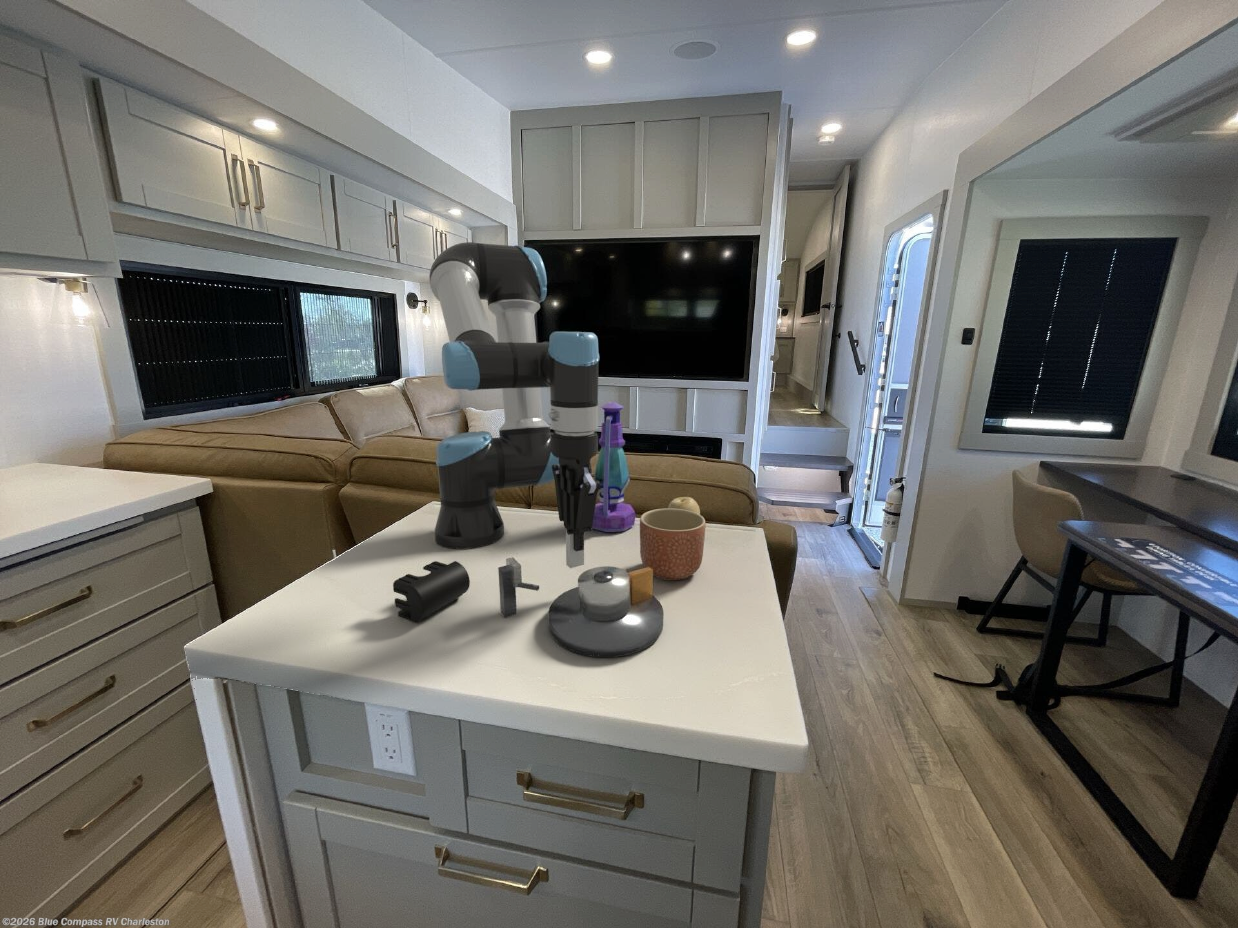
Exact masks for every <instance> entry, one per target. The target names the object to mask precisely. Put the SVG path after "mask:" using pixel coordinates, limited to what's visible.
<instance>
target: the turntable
mask: <svg viewBox="0 0 1238 928" xmlns="http://www.w3.org/2000/svg"><path fill="white" fill-rule="evenodd" d="M627 573H628V574H629V582H630V600H631V608H630V610H629V612H628V613H627V614H625V615H624V616H622V617H620V618H618V619H615V620H610V621H596V620H591V619H588V618H586V617H585V616H584V615H582V613H581V611H580V601H579V588H578V586H576V587H574V588H570V589H568V590H566V591H565V592H563V593H561V594H559V595H558V596H557V597H556V598H555V599H554V600H553V601H552V602H551V603H550V606H549V609H548V613H547V616H548V618H547V620H548V623H547V625H548V632H549V633H550V635H551V637H552V639H553V640H554V641H555V642H556V643H558V645H560V646H561V647H563V648H565V649H567V650H568V651H571V652H573V653H576V654H579V655H583V656H589V657H594V658H595V657H596V658H615V657H624V656H627V655H631V654H634V653H638V652H640V651H642V650H644V649H646V648H648V647H650V646H651V645H652V644H654V643H655V642H656V641H657V640H658V639H659V637H660V636H661V634H662V631H663V629H664V607H663V605H662V604H661V602H660V601H659V599H658V598H657V597H655V595H653V590H654V587H653V586H654V583H653V582H654V575H653V569H651V568H650V567H647V568H645V567H644V568H640V569H637V570H634V571H633V570H632V571H629V572H627Z"/></svg>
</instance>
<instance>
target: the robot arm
mask: <svg viewBox="0 0 1238 928" xmlns="http://www.w3.org/2000/svg"><path fill="white" fill-rule="evenodd" d="M429 284H430V289H431V291H432V294H433V295H434V297H435V299H436V300H438V301H439V303H440V308H441V312H442V316H443V319H444V325H445V328H446V332H447V336H448V340H449V342H446V343H443V344H442V347H441V363H442V373H443V380H444V383H445V386H446V387H447V388H449V389H451V390H468V391H477V390H496V389H499V390H500V389H502V401H503V402H502V403H503V412H504V413H503V415H504V423H503V424H502V425H501V426H500V427H499V428H498V432H499V435H498V437H493V436H492V435H491V432H489V431H485V430H480V431H475V430H474V431H468V432H462V433H457V434H455V435H454V434H453V435H450V436H447V437H446V438H444V439H442V440H441V441H439V442H438V444H437V445H436V462H435V465H436V466H437V473H438V474H437V475H438V485H439V486H438V487H439V498H440V499H439V501H440V508H439V511H438V515H437V518H436V523H435V527H434V541H435V543H437V545H440V546H441V547H444V548H449V549H460V550H461V549H474V548H479V547H483V546H484V547H485V546H488V545H491V544H493V543H495V542H498V541H499V540H500V539H502V538H503V537H504V535H505V523H504V520H503V518H502V515H501V513H500V511H499V508H498V505H497V504H496V498H495V491H496V490H501V489H503V490H504V489H511V488H520V487H530V486H534V487H536V486H539V485H544V484H549V483H552V482H553V481H554V487H555V494H556V502H557V503H556V504H557V512H558V513H557V514H558V519H559V522H563V527H564V529H566V530H565V553H566V554H565V564H566V566H567V567H568V568H569V569H574V568H577V567H581V566H584V565H585V533H589V532H592V530H593V528H592V525H593V518H594V512H595V505H596V504H597V497H598V493H599V492H600V490H599V488H600V482H599V481H595V479H594V477H592V471H593V470H592V464H591V460H592V458H594V457H595V456H597V455H598V453H599V452H598V451H599V450H598V449H599V447H598V446H599V434H598V433H597V429H599V366H600V365H599V364H600V363H599V362H600V353H599V339H598V336H597V335H596V334H595V333H594V332H588V331H587V332H586V331H583V332H582V331H553V332H552V333H551V334H550V335H549V341H543V342H537V335H536V334H537V332H536V324H535V315H536V313H537V312H538V311H539V310H540V309H541V302H544V301H545V299H546V296H547V292H548V291H547V290H548V289H547V284H548V281H547V272H546V268H545V264H544V262H543V259H542V256H541V255H540V254H539V252H538V251H537V250H535V249H534V248H531V247H525V246H521V245H517V244H516V245H505V244H495V243H480V242H474V241H473V242H471V241H470V242H469V241H468V242H459V243H457V244H454V245H451V246H450V247H447V248H446V249H444V250H443V251H442V252H441V253H440V254H439V255H438V256H437V257H435V259H434V261H433V262H432V265H431V267H430V269H429ZM481 300H485V301H487V306H488V307H487V309H488V310H489V311H490V312H491V313H492V314H493V316H495V322H496V333H497V341H496V338H495V335H494V332H493V329H492V326H491V325H490V321H489V319H488V316H487V313H486V310H485V307H484V305H483V303H482V301H481ZM541 388H549V393H550V412H549V413H548V417H549V419H550V425H549V424H548V422H546V421H545V420H544V417H543V407H542V405H543V404H542V396H541V394H542V393H541ZM551 429H552V430H553V432H551Z"/></svg>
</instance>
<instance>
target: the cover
mask: <svg viewBox="0 0 1238 928" xmlns="http://www.w3.org/2000/svg"><path fill="white" fill-rule="evenodd" d="M628 573H629V572H627V571H626V570H625V569H623V568H620V567H616V566H607V565H606V566H598V567H593V568H589V569H587V570H585V571H583V572H582V573H581V574H580V575H579V576H578V578H577V587H578V588H579V601H580V611H581V613H582V615H584V616H585V617H586V618H588V619H591V620H596V621H610V620H615V619H618V618H620V617H622V616H624V615H625V614H627V613H628V612H629V610H630V608H631V600H630V582H629V574H628Z"/></svg>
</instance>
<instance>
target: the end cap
mask: <svg viewBox="0 0 1238 928" xmlns="http://www.w3.org/2000/svg"><path fill="white" fill-rule="evenodd" d="M422 570H424V571H428V572H430V573H428V574H425V575H413V574H410V573H408V574H405V575H404V576H401V577H399V578H397V579H395V580H394V581H393V583H392V587H393V588H392V589H393V592H394V593H396V594H399V595H402V596H404V597H405V599H406V600H404V599H401V598H397V597H396V598H394V604H395V605H394V606H395V607H396V608H397V609H400V610H398V611H397V615H398V617H399V618H402V619H404V620H407V621H410V622H412V623H418V622H420V621H422V620H423V619H425V618H427V617H428V616H430V615H431V614H433V613H435V612H437V611H438V610H441V609H442V608H444V607H445V606H447V605H448V604H451V603H452V602H453V601H455V600H457V599H459V598H460V597H462V596H463V595H464V594H465V593H467V592H468V591H469V588H470V583H471V582H470V581H471V580H470V576H469V572H468V571H467V569H466V567H464V565H463V564H462V563H460V562H459V561H457V560H454V561H453V562H450V563H448V564H447V563H443V562H440V561H436V560H435V561H432V562H431V563H428V564H426V565H425V566H423V567H422Z"/></svg>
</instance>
